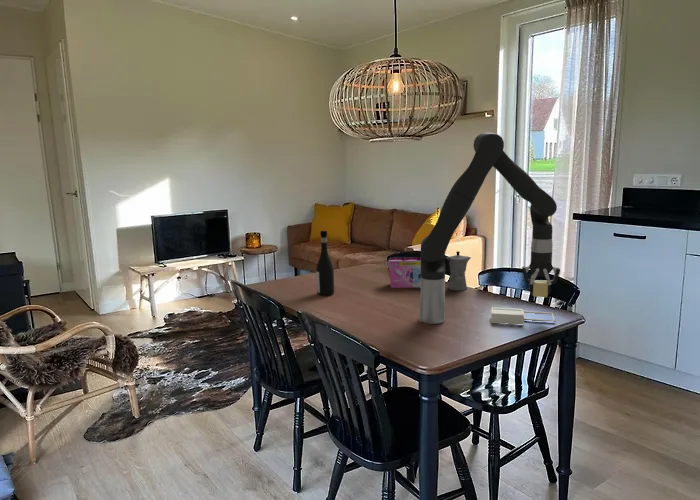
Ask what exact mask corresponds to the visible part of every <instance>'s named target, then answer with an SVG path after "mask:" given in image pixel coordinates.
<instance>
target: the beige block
mask: <svg viewBox="0 0 700 500" xmlns="http://www.w3.org/2000/svg"><path fill="white" fill-rule="evenodd" d="M532 296H533V298H548V283H547V280H545V279H544V280H543V279H540V280H539V279H538V280H537V279H535V280H534V283H533V294H532Z"/></svg>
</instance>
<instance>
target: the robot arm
mask: <svg viewBox="0 0 700 500" xmlns="http://www.w3.org/2000/svg"><path fill="white" fill-rule="evenodd" d="M504 147H505V143H504V138H503V137H502V136H501V135H500V134H498V133H494V132H491V131H490V132H488V131H487V132H482V133H479V134H478V135H477V136H476V137H475V138H474V141H473V150H474V152H475V153H474V156H473V158H472V160H471V162H470V164H469V165H468V167H467V168H466V170H464V171H463V173H462V174H461V175H460V176H459V177H458V178H457V180H455V182H454V184H453V185H452V186H451V189H450V190H449V192H448V193H447V196H446V198H445V200H444V202H443V205H442V207H441V210H440V212H439V216H438V218H437V221H436V223H435V225H434V226H433V228H432V229H431V231H430V232H429V233H428V235H427V236H425V237H424V238H423V239H422V241H421V244H420V257H421V287H420V297H419V323H425V324H429V325H434V324H435V325H438V324H442V323H444V322H445V316H446V314H445V312H446V311H445V310H446V306H445V305H446V304H445V303H446V302H445V301H446V297H445V296H446V274H445V268H446V261H445V257H446V252H447V248H448V246H449V244H450V242H451V239H452V237H453V235H454V233H455V232H456V230H457V228H458V227H459V225H460V224H461V223H462V221H463V220H464V218H465V217H466V215H467V213H468V212H469V210H470V208H471V206H472V204H473V202H474V201H475V199H476V197H477V195H478V193H479V191H480V189H481V188H482V185H483V184H484V181H485V179H486V177H487V176H488V174H489V173H490V171H491V170H492V169H493V168H494V169H495V170H496V171H497V172H498V173H499V174H500V175H501V176H502V178H504V180H506V182H507V183H508V184H509V186H511V187H512V189H513V190H514V191H515V192H516V193H517V194H518V195H519V196H520V198H522V199H523V200H525V201H527V202H529V203H530V207H529V212H530V219H531V220H530V221H531V225H532V231H531V232H532V237H531V242H530V243H531V245H530V264H529V265H528V266H522V267H521V270H522V274H523V279H524V282H525V283H526V284H528V286H529V287H528V288H529V293H530V294H531V295H533V283H534V280H537V279H536V278H537V277H538V278H539V277H542V278H545V279H546V281H547V283H548V295H550V294H551V291H552V285H555V284H557V282H558V279H559V276H560V273H561V268H559V267H555V266H553V225H552V223H551V221H549V217H552V216H553V215H555V214H556V212H557V209H558V208H557V207H558V205H557V202H556V201H555V199H554V198H553V197H552V196H551V195H549V194H548V193H547V192H546V191H545V190H544V189H542V188H541V187H540V186H538V184H537V182H535V180H533V178H532V177H531V176H530V175H529V174H528V173H527V172H526V170H524V169H523V168H521V166H519V165H518V164H517V163H515V162H514V160H513V159H511V158H510V156H508V154H506V152H505V150H504ZM529 270H530V272H531V277H530V279H529V278H528V274H527V273H528V272H529ZM552 271H553V273H554V274H553V278H552V279H550V275H549V274H550V273H551V272H552ZM548 295H547V296H548Z"/></svg>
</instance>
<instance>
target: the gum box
mask: <svg viewBox="0 0 700 500" xmlns="http://www.w3.org/2000/svg"><path fill="white" fill-rule="evenodd" d="M387 266H388V269H389V283H390V289H391V288H392V289H395V288H399V289H402V288H406V289H407V288H408V289H409V288H411V289H412V288H421V256H417V257H415V256H414V257H390V258H389V260H388V261H387Z"/></svg>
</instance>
